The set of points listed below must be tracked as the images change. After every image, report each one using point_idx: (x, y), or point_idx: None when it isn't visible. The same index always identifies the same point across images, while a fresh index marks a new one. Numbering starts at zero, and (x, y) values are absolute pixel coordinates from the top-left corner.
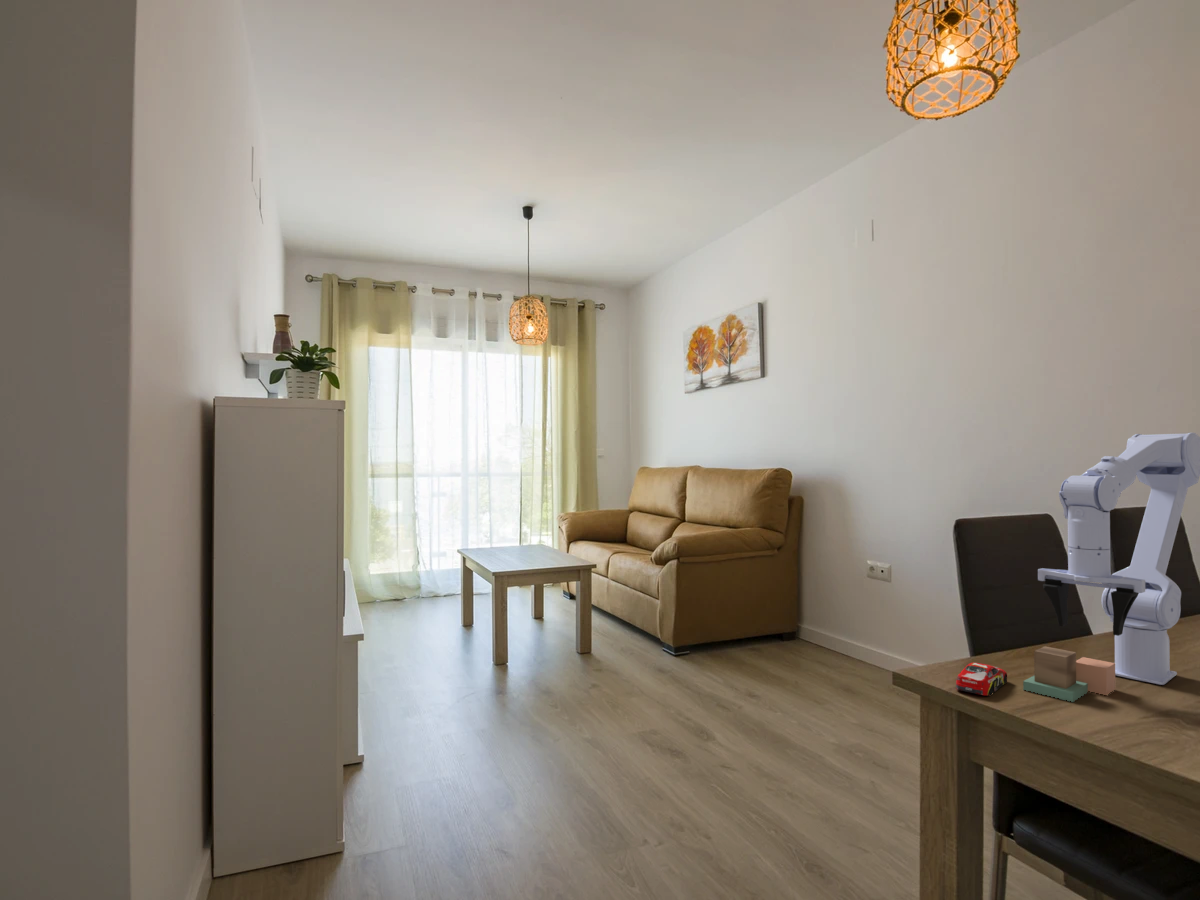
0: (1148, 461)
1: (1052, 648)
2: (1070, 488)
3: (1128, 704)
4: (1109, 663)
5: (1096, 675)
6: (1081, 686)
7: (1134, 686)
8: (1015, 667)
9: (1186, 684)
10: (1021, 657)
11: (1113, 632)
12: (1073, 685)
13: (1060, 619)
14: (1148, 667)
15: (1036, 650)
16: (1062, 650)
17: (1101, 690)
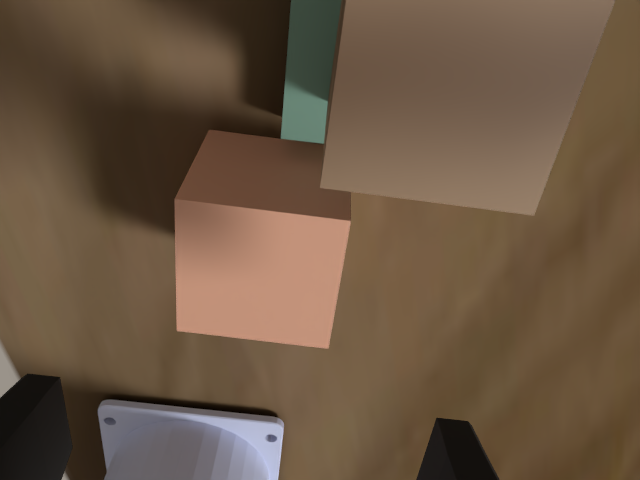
0: None
1: (479, 188)
2: None
3: (97, 57)
4: (195, 310)
5: (236, 179)
6: (291, 48)
7: (170, 339)
8: (618, 303)
9: None
10: (589, 444)
11: (47, 389)
12: (330, 37)
13: (466, 462)
14: (135, 461)
15: (600, 21)
16: (409, 176)
17: (226, 140)
